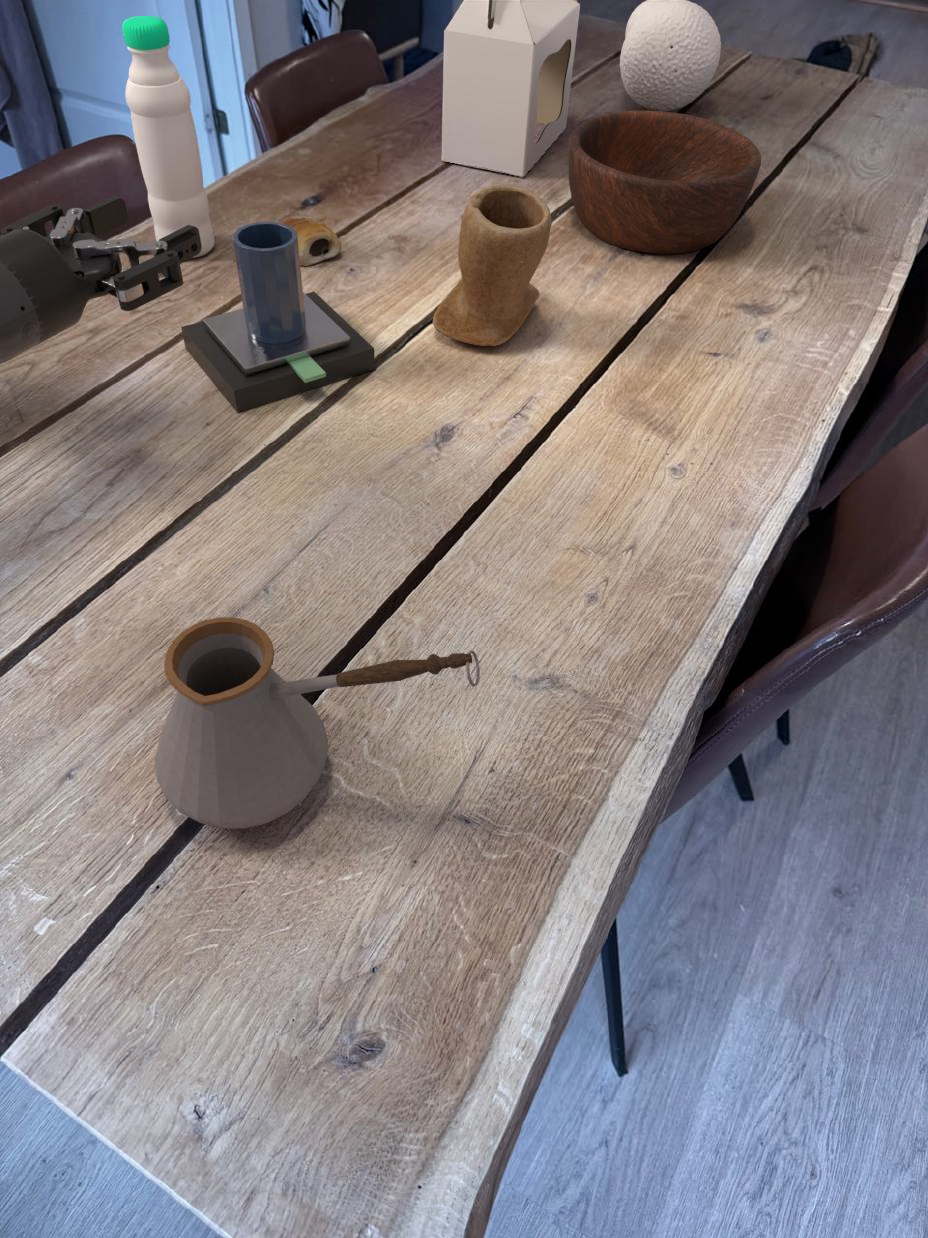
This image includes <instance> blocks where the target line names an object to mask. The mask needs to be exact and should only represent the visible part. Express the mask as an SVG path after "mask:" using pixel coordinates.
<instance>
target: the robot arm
mask: <svg viewBox="0 0 928 1238" xmlns="http://www.w3.org/2000/svg"><path fill="white" fill-rule="evenodd" d="M127 210H128V209H127V205H126V202H125V199H123V198H122V197H119V196H117V195H113V196H111V197H108V198H106V199H104V200H102V201H100V202H98V203H96V204H92V205H91V206H89V207H86V208H84V209H83V208H81V207H72V208H69V209H68V210H67V211H65V210H64V209H63V206H62V205H61V204H57V203H56V204H55V203H54V204H50V205H47V206H45V207H43V208H40V209H39V210H37V211H34V212H33V213H30V214H29V215H27V216H25V217H23V218H20V219H19V220H16V221H13V222H12V223H10V224H8V225H5V226H4V227H2V228H1V229H0V233H1V235H0V365H1V364H4V363H6V362H9V361H11V360H12V359H14V358H16V357H18V356H20V355H22V354H23V353H25V352H28V350H31V349H32V348H35V347H36V346H38V345H40V344H42V343H44V342H46V341H48V340H49V339H51V338H53V337H55V336H57V335H58V334H60V333H62V332H64V331H67V330H68V329H69V328H72V327H73V326H75V325H76V324H77V323H79V322H80V321H81V318H82V316H83V313H84V311H85V308H86V305H87V304H88V302H89V301H90V300H93V299H97V298H101V297H105V296H108V295H110V296H112V297H114V298H116V299H117V300H118V304H119V308H120V310H121V311H124V312H131V311H134V310H136V309H138V308H140V307H142V306H144V305H146V304H148V303H150V302H152V301H154V300H156V299H158V298H160V297H162V296H164V295H166V294H169V293H170V292H172V291H174V290H176V289H178V288H180V287H182V286H183V285H184V277H183V272H182V268H181V264H183V263H185V262H187V261H189V260H191V259H193V258H192V257H193V256H196V255H198V254H199V253H200V252H201V249H202V245H201V240H200V234H199V230H198V228H197V227H194V226H192V225H187V226H185V227H183V228H181V229H179V230H177V231H175V232H173V233H171V234H169V235H167V236H165V237H163V238H161V239H159V241H156V240H155V241H149V242H148V241H147V242H139V243H138V242H136V241H135V240H134V239H133V238H131V237H130V238H129V237H128V238H118V239H110V240H109V239H108V240H107V239H103V238H100V237H101V236H104V235H105V234H106V235H107V234H108V233H110V232H112V231H114V230H116V229H118V228H120V227H122V226H124V225H127V223H128V221H129V214H128V211H127ZM48 222H50V223H51V228H52V229H51V230H50V231H49V232H47V229H46V226H45V225H46V223H48ZM120 254H125V255H126V256H127V258H128V262H129V265H130V267H129V268H128V267H123V265H122V261H121V257H120ZM145 256H153V257H151V258H148V259H146V260H145V261H142V262H140V258H141V257H145Z"/></svg>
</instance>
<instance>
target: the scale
mask: <svg viewBox="0 0 928 1238" xmlns="http://www.w3.org/2000/svg"><path fill="white" fill-rule="evenodd" d="M305 294H306V295H307V296H308V297H309V298H310V299H311V300H312V301H313V302H314V303H315V304H316V305H317V306H318V307H319V308H320V309H321V310H322V311H323V312H324V313H326V314H327V315H328V316H329V317H330V318H331V319H332V320H333V321H334V322H335V323H336V324H337V325H338V326H339V327H340V328H341V329H342V330H343V331H344V332H345V333H346V334H347V335H348V336H349V337H350V340H351V344H348V345H345V346H342V347H338V348H335V349H332V350H328V351H325V352H322V353H318V354H315V355H312V356H308V357H305V358H302V359H298V360H295V361H292V362H288V363H285V364H282V365H278V366H275V367H272V368H268V369H265V370H262V371H258V372H255V373H252V374H248V375H246V374H245V373H244V372H243V371H242V370H241V369H240V367H239V366H238V365H237V364H236V363H235V362H234V360H233V359H232V358H231V357H230V356H229V355H228V353H227V352H226V351H225V350H224V349H223V348H222V346H221V345H220V344H219V343H218V342H217V341H216V339H215V338H214V337H213V336H212V335H211V334H210V332H209V331H208V330H207V329H206V328H205V327H204V325H203V320H202V321H199V322H194V323H191V324H188V325H184V326H181V327H180V328H181V333H182V338H183V343H184V347H185V350H186V351H187V352H188V353H189V354H190V355H191V357H192V358H193V359H194V360H195V362H196V363H197V364H198V365H199V367H200V368H201V369H202V371H204V373H205V374H206V375H207V376H208V378H209V379H210V380H211V381H212V382H213V384H214V385H215V386H216V388H217V389H218V390H219V391H220V393H221V394H222V395H223V396H224V397H225V399H226V400H227V401H228V402H229V404H230V405H231V406H232V407H233V409H234V410H235V411H236V412H237V413H241V412H245V411H248V410H251V409H253V408H257V407H260V406H263V405H267V404H270V403H272V402H276V401H280V400H283V399H286V398H290V397H292V396H295V395H298V394H301V393H305V392H307V391H312V390H315V389H316V388H317V389H318V388H321V387H324V386H326V385H327V386H328V385H330V384H333V383H336V382H339V381H342V380H346V379H349V378H352V377H355V376H359V375H362V374H365V373H368V372H371V371H374V370H376V360H375V359H376V357H375V347H374V346H372V345H371V344H370V343H369V342H368V341H367V339H365V338H364V337H363V335H361V334H360V333H359V331H357V330H356V329H355V328H353V327H352V326H351V324H349V323H348V322H347V321H346V320H345V319H344V318H343V317H342V316H341V315H340V314H339V313H338V312H337V311H336V310H335V309H334V308H332V306H331V305H330V304H328V303H327V302H326V301H325V300H324V299H323V298H322V297H321V296H320V295H319V294H318V293H316V291H311V292H310V291H309V292H307V293H305Z"/></svg>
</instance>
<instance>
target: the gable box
mask: <svg viewBox="0 0 928 1238" xmlns="http://www.w3.org/2000/svg"><path fill="white" fill-rule="evenodd" d="M580 10H581V4H580V3H579V0H462V2H461V4H460V6H459V7H458V9H457V10H456V12H455V13H454V15H453V17H452V18H451V20H450V21H449V23H448V24H447V26H446V27H445V28H444V29H443V30H444V31H443V66H442V67H443V69H442V70H443V71H442V74H443V75H442V115H441V116H442V119H441V122H442V123H441V157H440V159H441V161H442V162H443V161H446V162H450V163H455V164H456V163H457V164H464V165H471V166H477V167H485V168H488V169H493V170H498V171H502V172H506V173H510V174H514V175H519V176H522V177H523V176H524V177H525V176H527V174H528V173H529V172H530V171H531V169H532V168H534V166H535V165H536V164H537V163H538V161H539V160H541V158H542V157H543V156H544V155H545V154H546V152H547V151H548V150H549V149H550V148H551V147H552V145H553V144H554V143H555V142H556V141H557V139H558V138H559V137H560V136H561V135H562V134H563V132H564V131H565V130H566V129H567V122H568V113H569V104H570V98H571V97H570V96H571V87H572V79H573V72H574V62H575V55H576V54H575V53H576V46H577V45H576V44H577V37H578V29H579V19H580ZM536 122H538V123H544V124H547V125H546V126H545V128H544V129H543V131H542V133H541V135H540V136H539V137H538V136H537V135H536V136H537V138H539V139H538V141H537V142H536V143H535V140H534V138H535V128H536ZM565 128H566V129H565ZM564 129H565V130H564ZM563 130H564V131H563ZM561 133H562V134H561ZM560 134H561V135H560ZM559 135H560V136H559ZM558 136H559V137H558ZM554 141H555V142H554ZM553 142H554V143H553ZM552 143H553V144H552ZM551 144H552V145H551ZM548 148H549V149H548ZM547 149H548V150H547ZM546 150H547V151H546ZM545 151H546V152H545ZM542 155H543V156H542ZM541 156H542V157H541ZM540 157H541V158H540ZM450 163H449V164H450ZM535 163H536V164H535ZM455 164H454V165H455ZM534 164H535V165H534ZM529 170H530V171H529ZM528 171H529V172H528ZM524 177H523V178H524Z"/></svg>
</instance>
